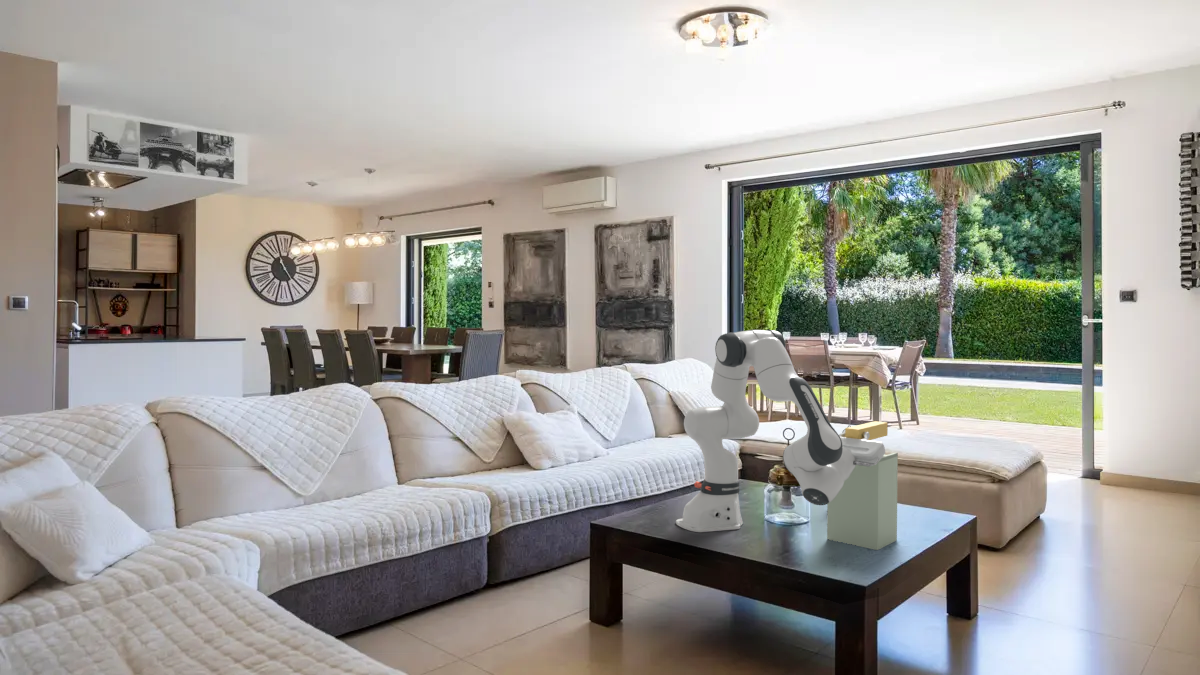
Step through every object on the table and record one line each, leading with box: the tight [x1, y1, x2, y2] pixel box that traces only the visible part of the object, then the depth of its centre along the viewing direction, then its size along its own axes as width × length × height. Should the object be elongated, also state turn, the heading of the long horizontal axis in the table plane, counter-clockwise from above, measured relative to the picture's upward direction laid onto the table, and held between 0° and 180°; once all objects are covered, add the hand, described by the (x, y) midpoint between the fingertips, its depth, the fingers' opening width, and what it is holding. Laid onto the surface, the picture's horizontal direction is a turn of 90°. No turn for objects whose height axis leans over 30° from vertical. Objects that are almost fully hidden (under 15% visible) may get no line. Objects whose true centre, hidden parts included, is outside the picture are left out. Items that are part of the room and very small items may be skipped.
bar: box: [844, 420, 889, 441], centre depth 231 cm, size 20×4×4 cm, turn 137°
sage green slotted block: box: [826, 452, 899, 551], centre depth 239 cm, size 14×16×27 cm
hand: (857, 432), depth 227 cm, fingers closed on bar, 4 cm apart
